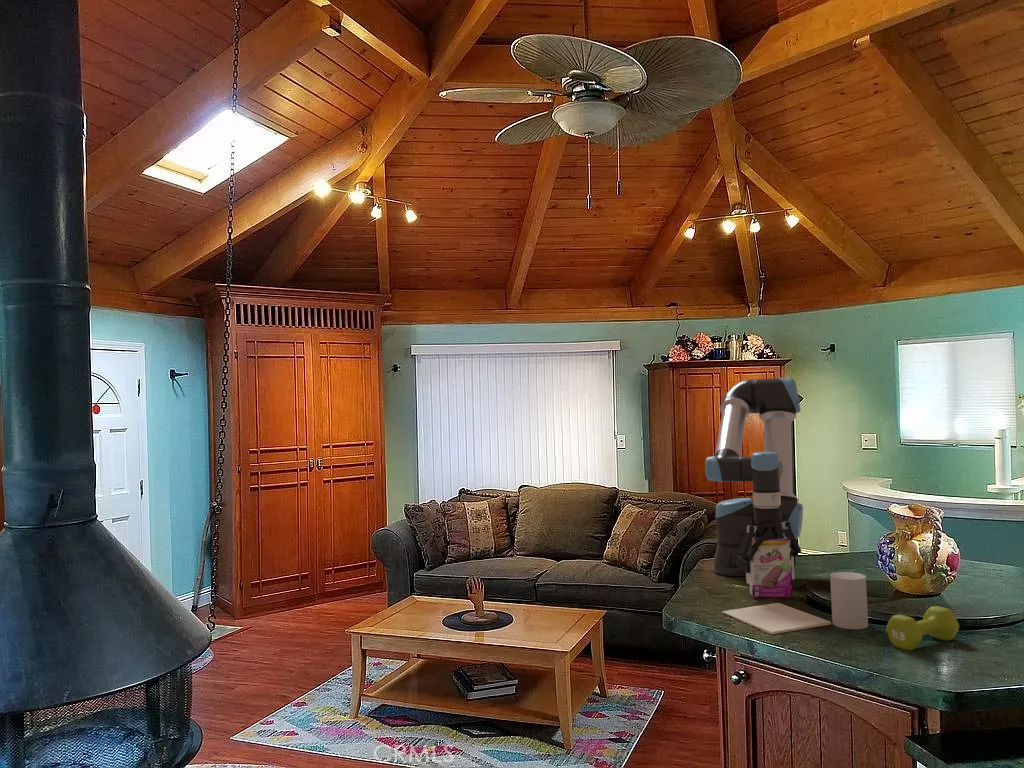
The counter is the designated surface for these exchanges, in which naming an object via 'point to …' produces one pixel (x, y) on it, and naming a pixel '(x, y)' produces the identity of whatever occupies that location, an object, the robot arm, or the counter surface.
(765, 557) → the candy bar box
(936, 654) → the counter surface
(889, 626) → the dumbbell
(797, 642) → the counter surface
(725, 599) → the counter surface
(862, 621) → the cup
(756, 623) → the mat
